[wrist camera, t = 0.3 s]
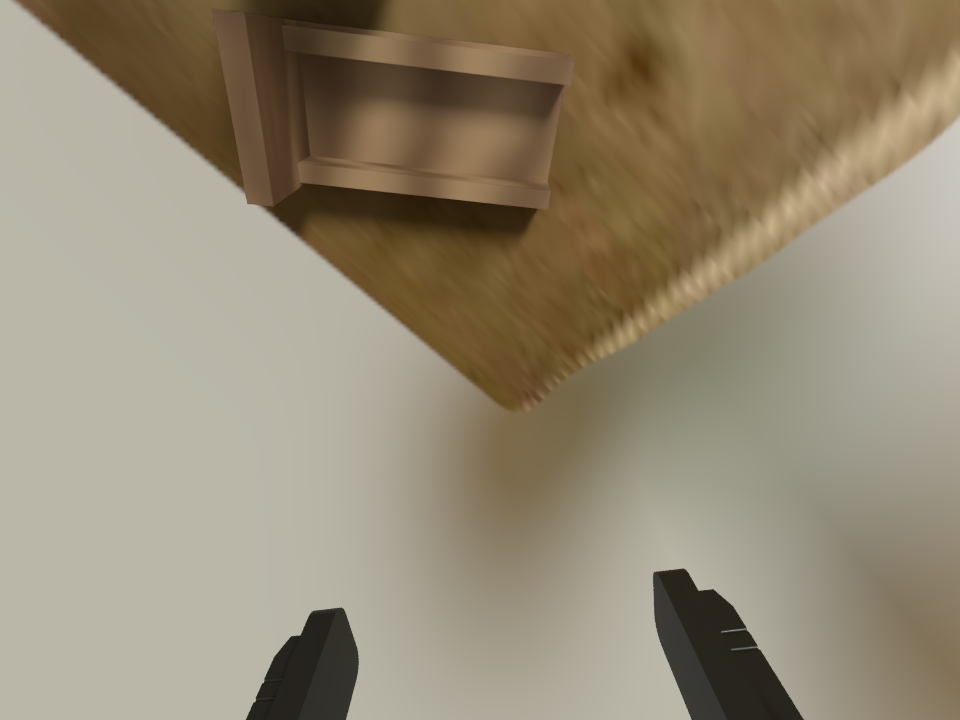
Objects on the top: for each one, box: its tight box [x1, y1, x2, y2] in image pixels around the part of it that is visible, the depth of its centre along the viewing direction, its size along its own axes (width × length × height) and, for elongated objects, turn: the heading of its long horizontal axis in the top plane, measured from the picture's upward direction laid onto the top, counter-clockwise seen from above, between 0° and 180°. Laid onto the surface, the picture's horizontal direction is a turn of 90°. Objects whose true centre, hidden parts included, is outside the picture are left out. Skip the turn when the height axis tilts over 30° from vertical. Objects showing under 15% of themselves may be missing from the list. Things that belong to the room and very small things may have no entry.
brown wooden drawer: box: [212, 9, 575, 210], centre depth 27 cm, size 18×9×8 cm, turn 84°
